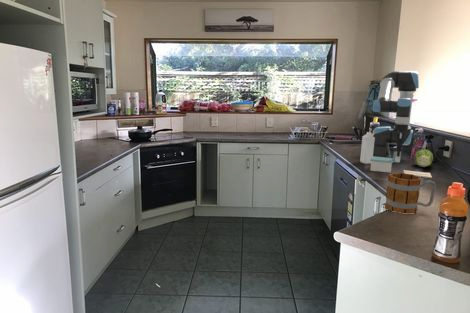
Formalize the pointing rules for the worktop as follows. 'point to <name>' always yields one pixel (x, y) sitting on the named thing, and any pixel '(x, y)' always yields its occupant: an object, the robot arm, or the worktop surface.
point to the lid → (384, 159)
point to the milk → (367, 148)
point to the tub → (381, 166)
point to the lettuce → (423, 158)
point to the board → (419, 174)
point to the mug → (405, 192)
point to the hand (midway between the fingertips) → (397, 160)
